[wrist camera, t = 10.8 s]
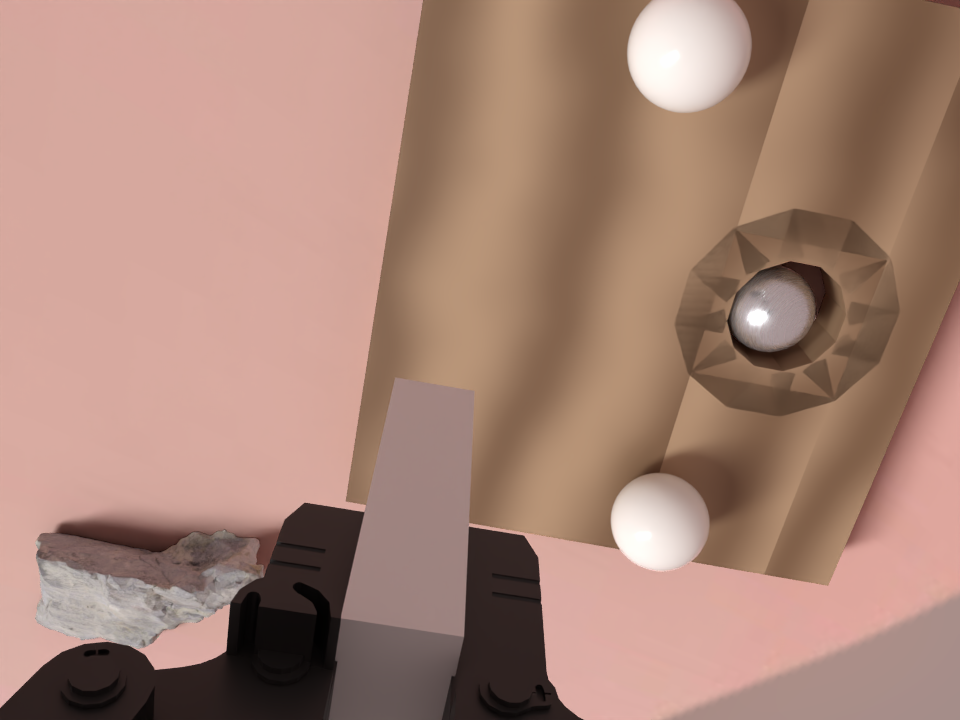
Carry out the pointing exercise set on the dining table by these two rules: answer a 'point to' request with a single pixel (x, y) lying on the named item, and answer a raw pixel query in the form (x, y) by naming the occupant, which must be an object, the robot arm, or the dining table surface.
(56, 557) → the stone
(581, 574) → the dining table surface
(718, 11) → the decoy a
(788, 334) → the steel ball
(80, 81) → the dining table surface
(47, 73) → the dining table surface
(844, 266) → the board
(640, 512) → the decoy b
